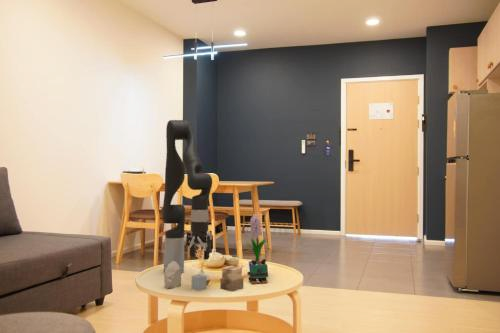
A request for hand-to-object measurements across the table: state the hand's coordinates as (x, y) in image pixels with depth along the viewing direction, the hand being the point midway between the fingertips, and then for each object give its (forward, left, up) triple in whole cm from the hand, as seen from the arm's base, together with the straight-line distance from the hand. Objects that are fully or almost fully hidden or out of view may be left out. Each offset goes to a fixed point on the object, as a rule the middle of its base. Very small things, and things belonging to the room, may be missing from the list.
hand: (199, 257), depth 187 cm
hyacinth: (+6, +32, -13) cm, 36 cm away
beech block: (+10, +10, -9) cm, 17 cm away
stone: (-11, -5, -13) cm, 18 cm away
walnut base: (+10, +10, -13) cm, 19 cm away
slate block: (0, 0, -13) cm, 13 cm away
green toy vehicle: (+11, +26, -14) cm, 31 cm away
